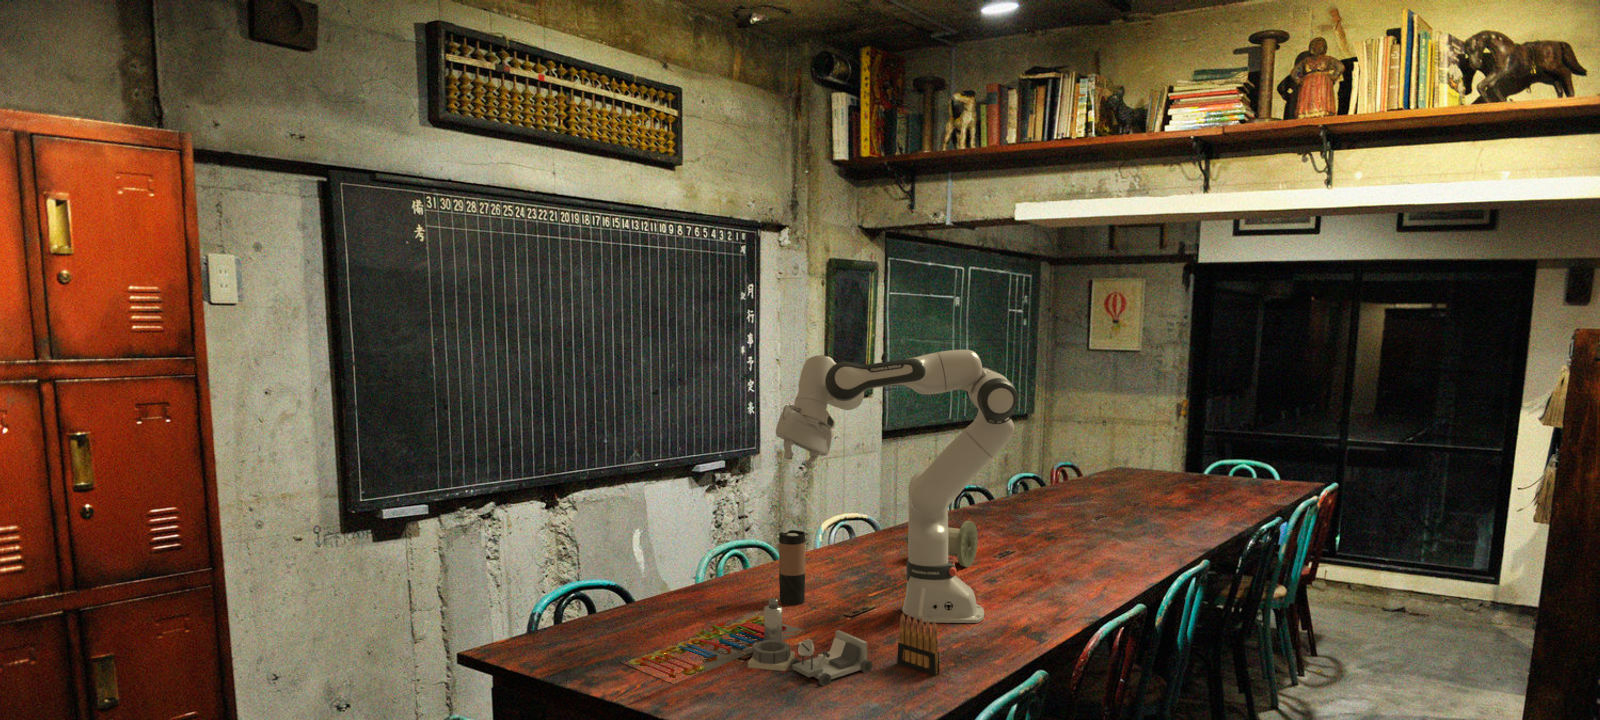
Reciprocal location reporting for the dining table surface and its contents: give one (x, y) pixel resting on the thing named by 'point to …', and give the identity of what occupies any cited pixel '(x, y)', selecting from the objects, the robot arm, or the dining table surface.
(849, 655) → the small toy car
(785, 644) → the socket plate
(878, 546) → the dining table surface
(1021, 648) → the dining table surface
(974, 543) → the spool
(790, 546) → the travel mug
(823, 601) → the dining table surface
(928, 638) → the ammunition clip
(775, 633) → the grey peg
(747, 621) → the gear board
